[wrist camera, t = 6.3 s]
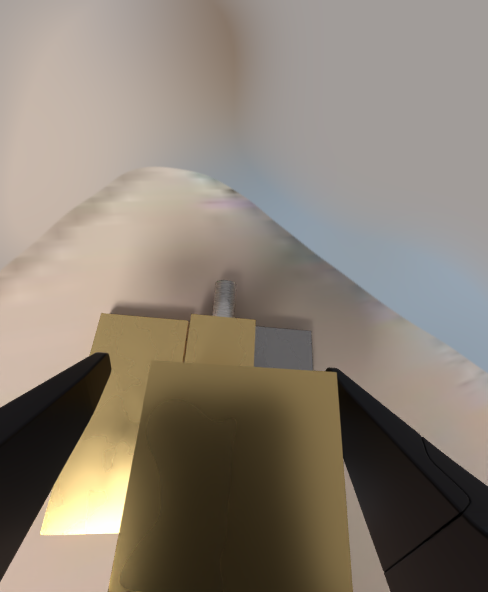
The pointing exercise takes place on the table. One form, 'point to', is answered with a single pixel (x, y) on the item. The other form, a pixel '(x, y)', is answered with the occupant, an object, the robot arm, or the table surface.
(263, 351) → the fixed leaf
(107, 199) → the table surface
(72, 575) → the table surface
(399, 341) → the table surface
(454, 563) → the robot arm
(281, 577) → the brass block assembly
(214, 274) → the table surface
